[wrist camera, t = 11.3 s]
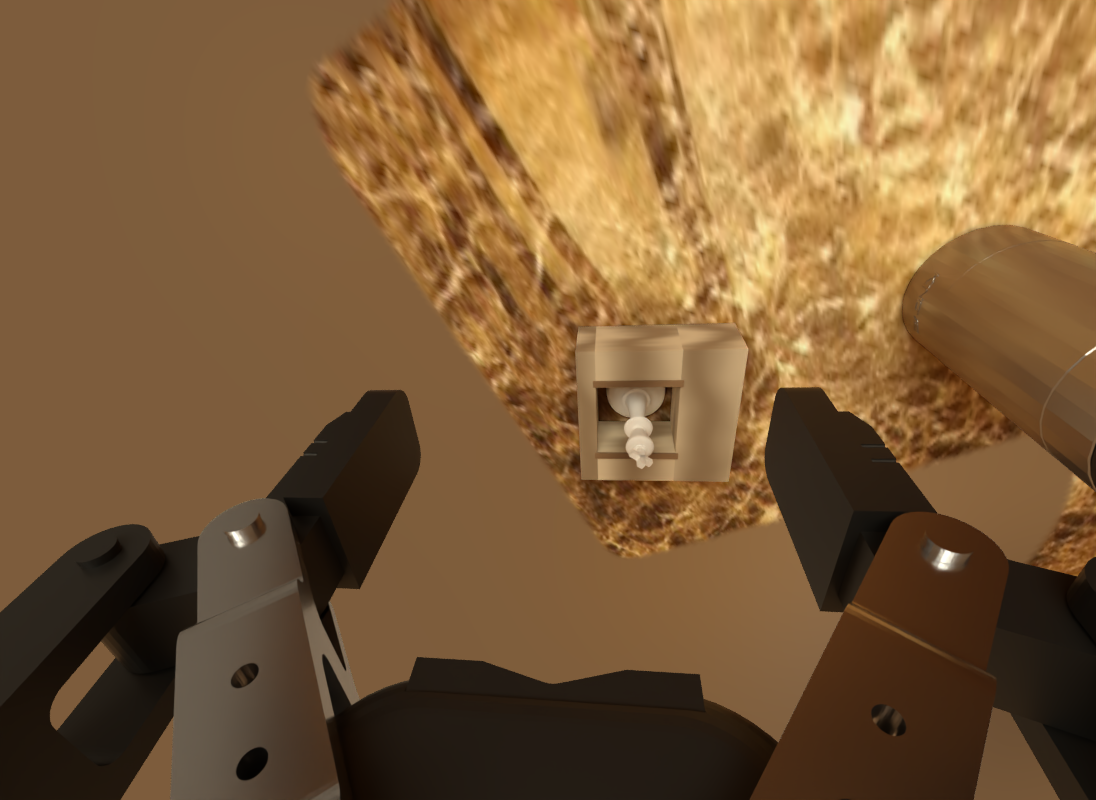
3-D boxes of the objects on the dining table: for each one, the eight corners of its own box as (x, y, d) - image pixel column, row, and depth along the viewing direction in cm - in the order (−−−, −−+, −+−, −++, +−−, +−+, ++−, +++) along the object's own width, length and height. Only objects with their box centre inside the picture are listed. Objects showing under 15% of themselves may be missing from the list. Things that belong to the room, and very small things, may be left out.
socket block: (734, 323, 39) (748, 350, 35) (718, 448, 45) (728, 483, 41) (578, 326, 40) (575, 353, 36) (583, 447, 47) (581, 480, 43)
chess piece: (642, 423, 45) (649, 503, 36) (595, 397, 44) (591, 472, 35) (677, 382, 42) (693, 458, 34) (627, 354, 41) (631, 424, 33)
